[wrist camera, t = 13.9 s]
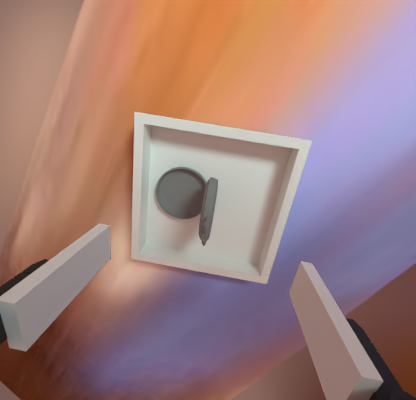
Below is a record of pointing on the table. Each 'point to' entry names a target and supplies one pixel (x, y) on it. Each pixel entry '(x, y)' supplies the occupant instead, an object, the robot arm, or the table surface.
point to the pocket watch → (188, 197)
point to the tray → (226, 195)
